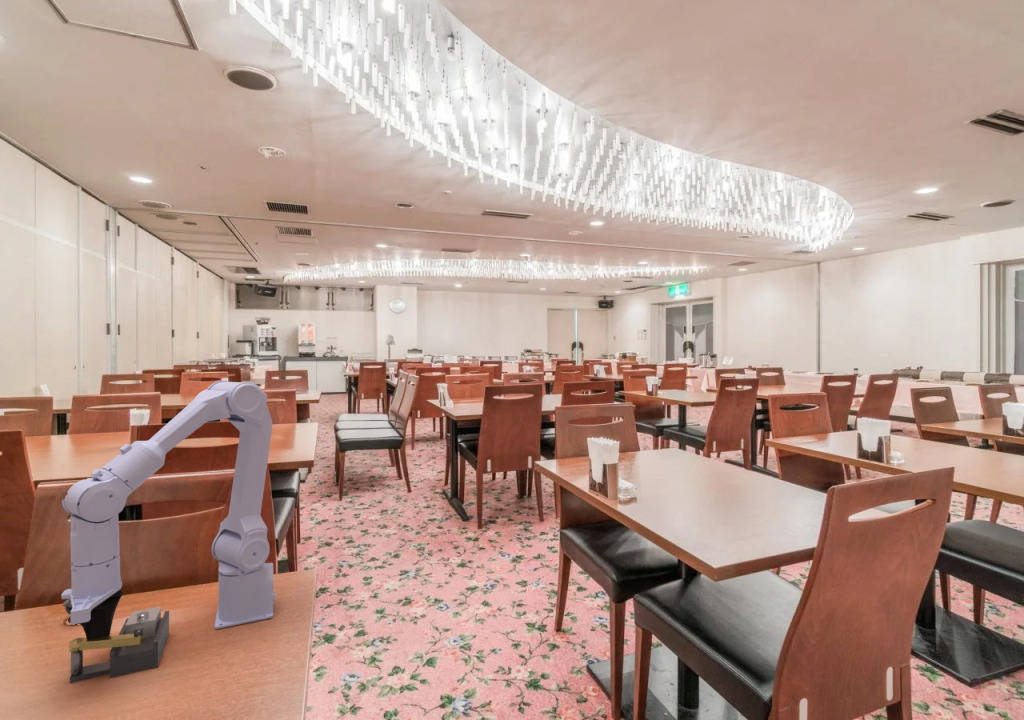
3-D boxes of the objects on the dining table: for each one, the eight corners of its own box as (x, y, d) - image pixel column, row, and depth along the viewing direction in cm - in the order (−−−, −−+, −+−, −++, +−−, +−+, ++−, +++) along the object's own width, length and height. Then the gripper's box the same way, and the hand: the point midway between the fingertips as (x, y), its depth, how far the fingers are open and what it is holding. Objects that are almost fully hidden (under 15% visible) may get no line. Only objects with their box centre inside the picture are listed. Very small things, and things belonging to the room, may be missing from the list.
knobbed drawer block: (160, 621, 86) (160, 602, 86) (155, 635, 82) (155, 615, 82) (132, 627, 85) (132, 608, 85) (125, 641, 80) (125, 621, 80)
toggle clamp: (169, 633, 88) (169, 610, 88) (157, 667, 78) (157, 641, 78) (87, 649, 83) (88, 625, 83) (65, 688, 73) (65, 660, 73)
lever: (146, 639, 79) (146, 626, 79) (139, 645, 77) (139, 632, 77) (74, 646, 77) (74, 632, 77) (66, 652, 75) (66, 639, 75)
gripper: (79, 545, 81) (81, 627, 82) (41, 584, 68) (43, 682, 69) (133, 538, 84) (134, 618, 85) (105, 574, 71) (108, 668, 72)
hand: (97, 646), depth 77 cm, fingers closed, pressing on lever
